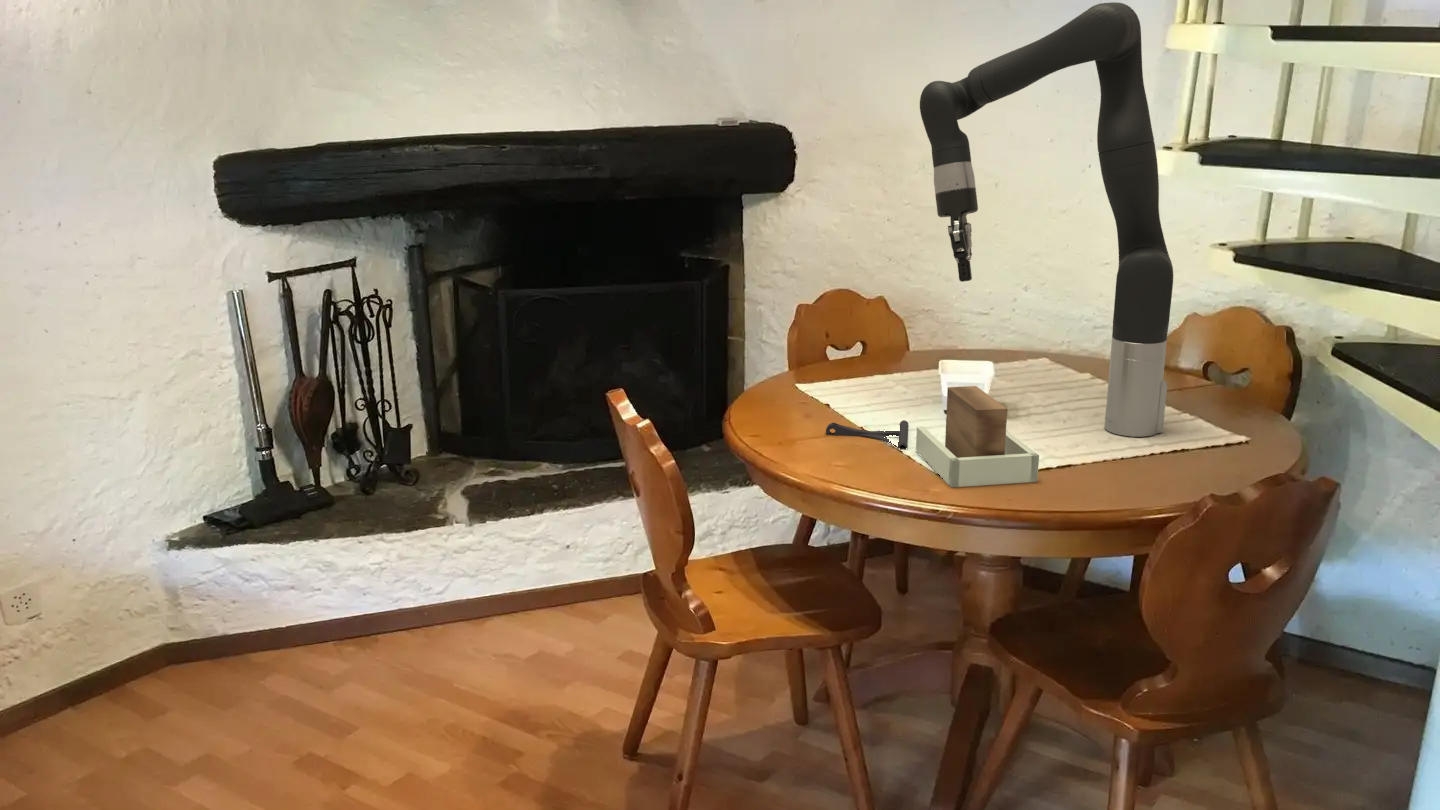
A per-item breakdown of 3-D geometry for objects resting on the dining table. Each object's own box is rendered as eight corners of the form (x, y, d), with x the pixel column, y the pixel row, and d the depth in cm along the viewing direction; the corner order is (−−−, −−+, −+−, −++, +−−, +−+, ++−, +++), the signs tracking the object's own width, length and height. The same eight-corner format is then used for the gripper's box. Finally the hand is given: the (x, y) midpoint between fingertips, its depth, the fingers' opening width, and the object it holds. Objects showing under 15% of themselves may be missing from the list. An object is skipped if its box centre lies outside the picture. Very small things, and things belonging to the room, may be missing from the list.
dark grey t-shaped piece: (829, 425, 212) (829, 411, 211) (908, 428, 209) (908, 414, 208) (822, 450, 198) (822, 435, 197) (907, 453, 195) (907, 438, 195)
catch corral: (994, 446, 196) (996, 422, 195) (1037, 481, 179) (1039, 455, 177) (915, 451, 194) (916, 426, 193) (951, 487, 177) (952, 460, 176)
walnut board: (972, 452, 193) (975, 385, 190) (1003, 479, 180) (1007, 408, 177) (944, 454, 193) (947, 387, 189) (973, 481, 179) (977, 410, 176)
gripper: (971, 183, 202) (982, 278, 203) (979, 188, 214) (989, 278, 215) (929, 190, 204) (940, 284, 206) (940, 195, 217) (950, 283, 218)
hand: (965, 281), depth 210 cm, fingers closed
